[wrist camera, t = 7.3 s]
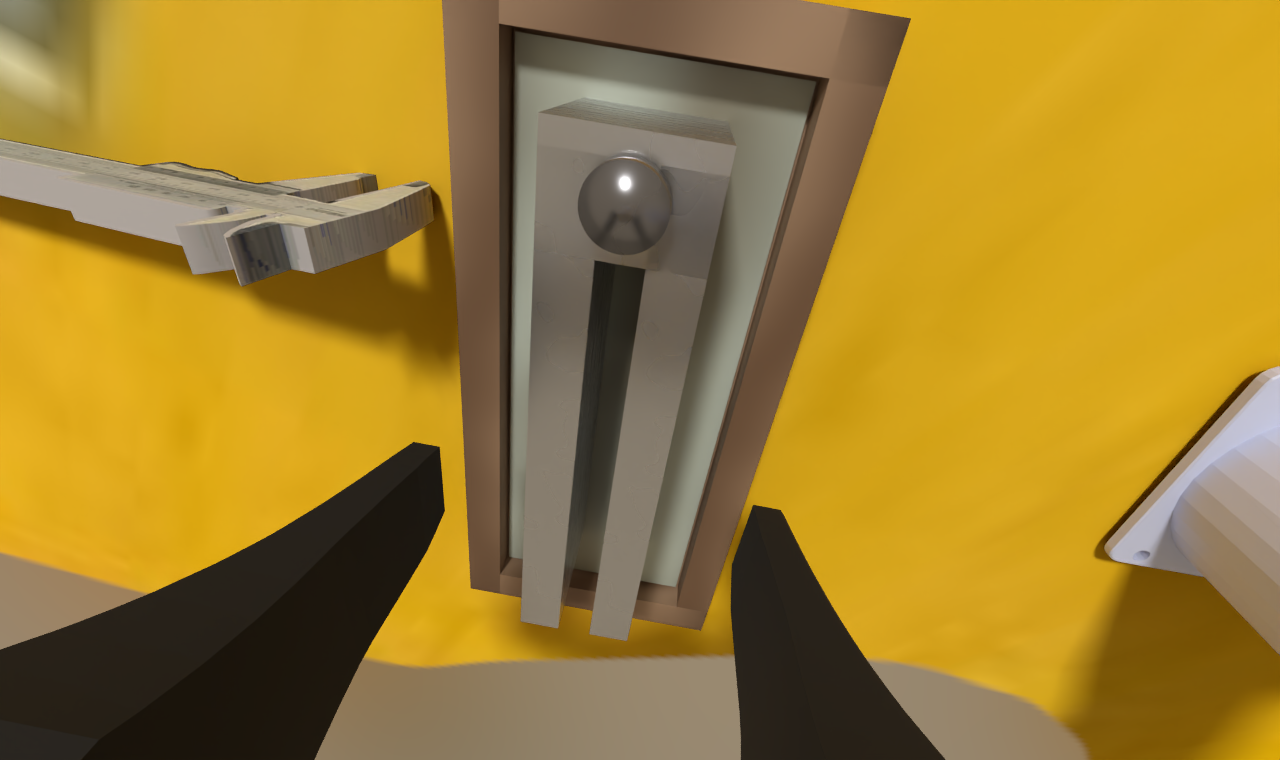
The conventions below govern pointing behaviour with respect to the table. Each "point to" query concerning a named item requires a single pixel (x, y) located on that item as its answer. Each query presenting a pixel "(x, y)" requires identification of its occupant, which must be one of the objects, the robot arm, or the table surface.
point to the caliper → (222, 209)
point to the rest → (735, 289)
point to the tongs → (578, 323)
